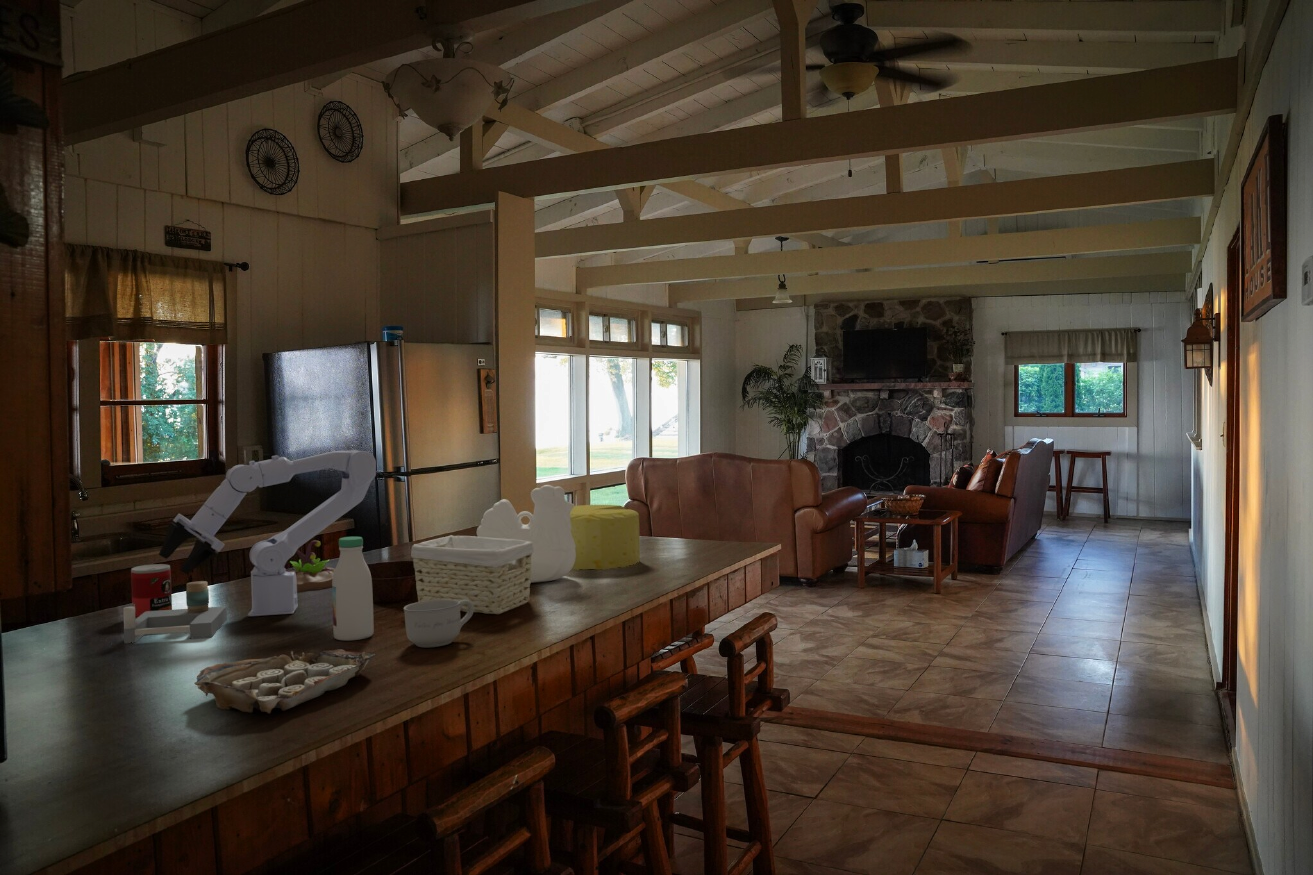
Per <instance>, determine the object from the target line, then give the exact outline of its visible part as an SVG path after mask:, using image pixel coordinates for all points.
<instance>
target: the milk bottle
mask: <svg viewBox="0 0 1313 875" xmlns="http://www.w3.org/2000/svg"><path fill="white" fill-rule="evenodd" d="M363 545H364V539H363V537H362V536H344V537H340V538H339V539H338V547H339V548H338V550H339V558H338V562H337V564H336V566H335V571H334V574H333V580H332V587H331V591H332V594H331V599H332V600H331V601H332V627H333V628H332V630H333V632H332V633H333V637H334V639H336V640H338V641H344V642H345V641H359V640H364V639H368V638H370V637H372V636H373V634H374V631H375V630H374V629H375V628H374V600H373V595H374V594H373V581H372V580H373V578H372V575H371V571H370V568H369V566H368V564H367V563H366V560H365V559H364V554H363V548H364V546H363Z"/></svg>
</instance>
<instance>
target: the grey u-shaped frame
mask: <svg viewBox="0 0 1313 875" xmlns="http://www.w3.org/2000/svg"><path fill="white" fill-rule="evenodd" d="M208 609H209V610H208V611H206V612H201V613H188V608H178V609H172V610H160V611H145V612H144V613H143V614H142V615H140V616H139V617H138V618H136V619H135V607H133V606H132V605H131V606H125V607H123V642H124V643H123V644H135V643H134V642H136V643H137V642H138V641H139V640H140V639H141V638H143V637H144V636H145V635H159V634H173V633H174V634H175V633H185V632H189V638H194V639H204V638H203V637H208V638H213V637H214V635H216V633H217V632H218V631H217V630H219V629H220V628H221V627H222V626H223V625H224V624H225V623H224V622H227V620H228V616H227V615H228V614H227V606H226V605H225V606H208ZM222 624H223V625H222ZM216 631H217V632H216ZM142 636H143V637H142ZM131 642H132V643H131Z"/></svg>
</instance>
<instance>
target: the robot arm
mask: <svg viewBox="0 0 1313 875" xmlns="http://www.w3.org/2000/svg"><path fill="white" fill-rule="evenodd" d="M248 463H249V465H248V464H237V465H234V466H232V468H229V469H227V472H226V473H225V478H224V479H223V481H222V482H221V483H220V485H219V486H218V487H216V489H215V490H214V491H213V492H212V493H211V495H210V496H209V497H208V498H207V500H206V501H205V502H204V503H203V504H202V506H200V508H199V510H197V512H196V513H195V515H193V517H192V518H191V519H189V518H187V517H185V516H184V515H183V514H181V513H178V514H177V515H176V516H175V517H174V518H173V520H172V522H169V523H168V525H167V526H168V528H167V532H166V536H165V539H164V542H163V544H162V546H161V548H160V551H159V553H158V556H160V557H162V558H164V559H166V560H167V559H168V558H170V557H171V556H172V555H173V554H174V552H175V551H176V550H177V549H178V548H179V547H180V546H181V545H182V544H183V543H184V542H185V541H187V540H188V539H190V538H192V537H193V536H195V537H196V540H195V542H194V545H193V547H192V550H191V552H190V553H189V555H188V556H187V557H186V559H185V560H184V561H183V563H182V564H181V566H180V568H179V571H180V572H182V573H185V574H186V575H188V574H190V573H191V572H193V571H194V570H195V569H197V568H198V567H199V566H200V565H202V564H204V562H207V561H209V560H210V559H213V558H214V557H217V556H218V555H219V553H218V552H220V551H221V550H222V549H223V548H224V547H225V545H226V544H225V543H223V542H222V541H221V540H219V539H218V538H217V537H215V535H216V533H218V531H219V529H220V528H221V527H222V526H223V525H224V524H225V522H226V521H227V520H228V519H229V518H230V516H231V515H232V513H233V512H234V511H235V510H236V508H237V507H238V506H239V505H240V504H241V502H242V500H243V498H244V497H245V496H246V495H247V492H248V493H250V492H252V491H254V490H256V489H257V487H258V488H263V487H268V486H273V485H279V484H283V483H284V484H285V483H288V482H290V481H291V479H292V478H293V477H294V476H295V475H299V474H304V473H309V472H315V471H320V470H321V471H322V470H327V469H333V470H335V471H336V470H338V471H340V474H341V487H340V488H341V489H340V490H339V491H338V492H336V493H335V494H333V495H332V496H330V497H329V498H328V499H326V500H325V501H323V502H322V503H321V504H319V505H318V506H317V507H315V508H314V509H313V510H311V511H310V512H309V513H307V514H305V515H304V516H302V518H300V519H299V520H298V521H296V522H295V523H294V524H292V525H291V526H290V527H288V528H286V529H285V530H284V531H282V532H279V533H277V534H275V535H273V536H271V537H270V538H268V539H265V540H261V541H258V542H256V543H254V545H253V546H252V547H251V548H250V551H249V560H250V562H251V563H252V565H254V566H253V569H252V570H251V571H250V578H251V579H250V582H251V610H250V611H249V612H248V614H247V617H260V616H261V617H263V616H275V615H277V616H278V615H290V614H291V615H292V614H294V613H295V611H296V610H297V608H298V606H299V604H298V592H297V580H296V573H295V572H286V571H287V569H286V568H285V565H286V564H287V562H288V560H290V559H291V558H292V557H293V556H294V555H295V554H296V553H295V552H296V551H298V549H299V548H300V547H302V546H303V545H304V544H306V543H307V542H308V541H310V540H311V539H313V538H314V537H315V536H317V535H318V534H319V533H321V532H322V531H323V530H325V529H326V528H327V527H329V526H331V525H332V524H333V523H334V522H336V521H337V520H339V519H340V518H341V517H342V516H343V515H345V514H347V513H348V512H349V511H351V510H352V509H353V508H354V507H356V506H358V505H359V504H360V503H361V502H362V501H363V500H364V499H365V497H366V495H367V492H368V490H369V487H370V485H371V483H372V481H373V479H375V477H376V476H377V461H376V458H375V456H374V455H373V454H372V453H370V452H368V451H365V450H358V449H349V450H348V449H347V450H333V451H328V452H324V453H320V454H319V453H318V454H315V455H312V456H307V457H302V458H299V459H295V460H290V459H288V458H287V457H285V456H279V455H272V456H271V459H266V460H262V461H255V460H250V461H249V462H248ZM196 531H197V532H198V533H200V534H201V535H200V534H198V533H197V532H196Z"/></svg>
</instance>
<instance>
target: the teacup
mask: <svg viewBox="0 0 1313 875" xmlns="http://www.w3.org/2000/svg"><path fill="white" fill-rule="evenodd" d="M463 605H467V606H468V612H466V613H465V615H464V616H463V617H462V618H461V611H460V609H461V607H462V606H463ZM403 612H404V623H405V633H406V637H407V639H408V640H409V641H410V642H412V643H413V644H415V645H416V646H417V647H418V648H427V649H428V648H429V649H430V648H437V647H442V646H443V647H444V646H447V645H449V644H451V643H452V642H453V641H454V640H455V638H457V637H458V636H459V634H460V632H461V628H462V627H463V626H464V624H466V623H467V622H468V621H469V620H470V619H471V618H472V616H473V614H474V613H475V612H474V607H473V604H472V603H471V602H470V601H469V600H461V601H457V600H451V599H442V600H430V601H422V602H418V601H417V602H414V603H413V602H412V603H409V604H407V605H405V606H404V607H403Z"/></svg>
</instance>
